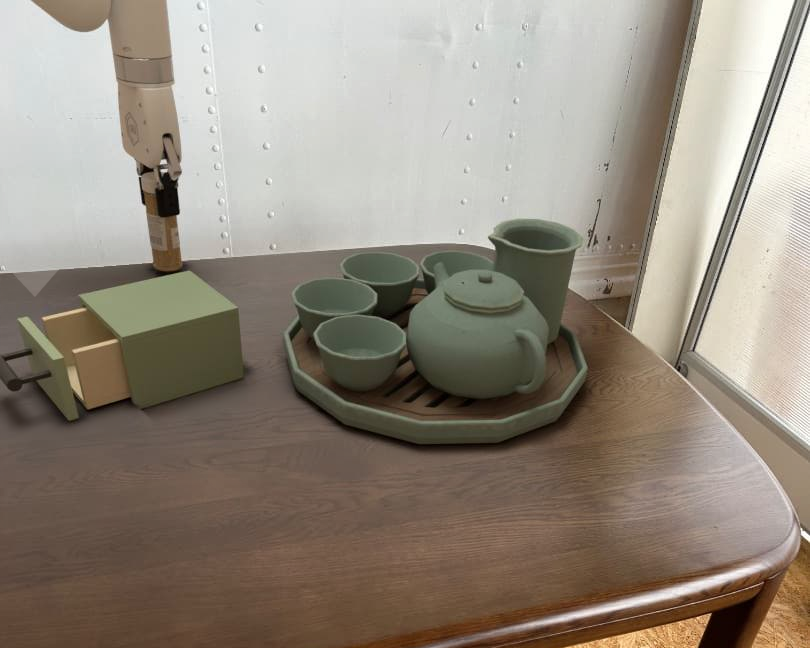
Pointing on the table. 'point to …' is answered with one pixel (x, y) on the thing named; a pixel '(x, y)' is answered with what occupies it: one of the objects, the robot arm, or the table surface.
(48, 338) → the drawer
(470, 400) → the tea set
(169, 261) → the sprinkles bottle
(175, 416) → the table surface
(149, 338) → the cabinet
